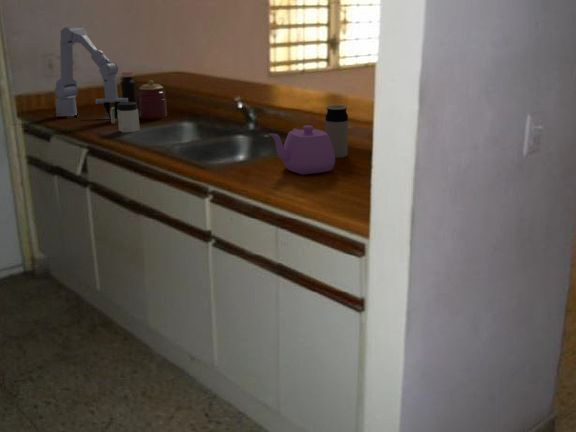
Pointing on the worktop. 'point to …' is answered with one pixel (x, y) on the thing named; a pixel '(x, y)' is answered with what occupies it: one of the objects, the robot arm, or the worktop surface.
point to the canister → (152, 101)
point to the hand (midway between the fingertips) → (113, 118)
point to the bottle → (128, 87)
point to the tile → (112, 115)
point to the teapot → (306, 151)
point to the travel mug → (337, 129)
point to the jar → (128, 117)
